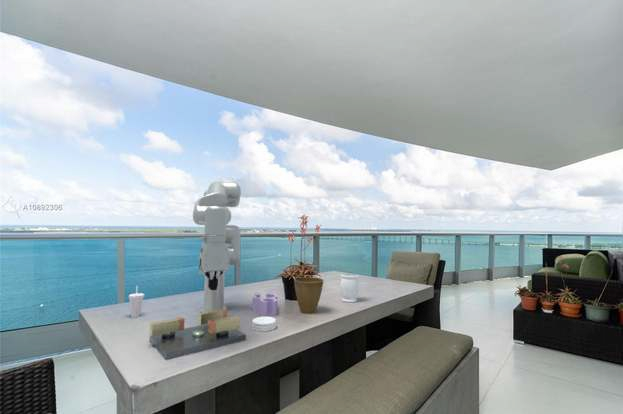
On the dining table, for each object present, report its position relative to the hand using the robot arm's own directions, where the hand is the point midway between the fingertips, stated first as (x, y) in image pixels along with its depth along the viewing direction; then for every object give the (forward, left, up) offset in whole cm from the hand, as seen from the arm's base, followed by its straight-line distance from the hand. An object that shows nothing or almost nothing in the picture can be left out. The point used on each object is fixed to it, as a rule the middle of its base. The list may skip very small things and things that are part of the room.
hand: (212, 289), depth 115 cm
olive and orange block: (-9, -13, -17) cm, 23 cm away
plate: (-4, -3, -19) cm, 19 cm away
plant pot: (-10, +55, -19) cm, 59 cm away
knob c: (+1, +4, -17) cm, 17 cm away
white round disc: (-2, +24, -19) cm, 31 cm away
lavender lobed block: (-24, +39, -19) cm, 49 cm away
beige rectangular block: (-11, +5, -17) cm, 20 cm away
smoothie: (-51, -14, -19) cm, 56 cm away
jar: (-13, +89, -19) cm, 92 cm away
